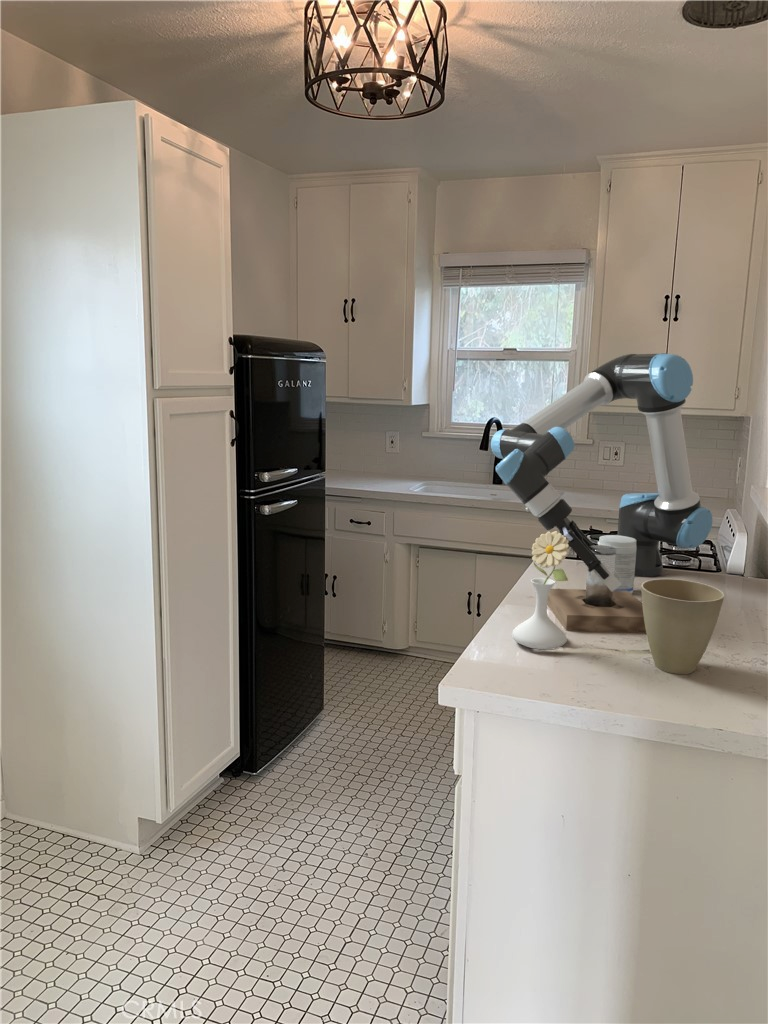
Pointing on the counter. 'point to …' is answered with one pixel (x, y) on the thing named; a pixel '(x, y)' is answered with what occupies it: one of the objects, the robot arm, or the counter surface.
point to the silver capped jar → (595, 587)
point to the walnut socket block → (596, 612)
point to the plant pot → (679, 621)
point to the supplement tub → (623, 558)
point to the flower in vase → (544, 595)
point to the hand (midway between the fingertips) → (616, 583)
